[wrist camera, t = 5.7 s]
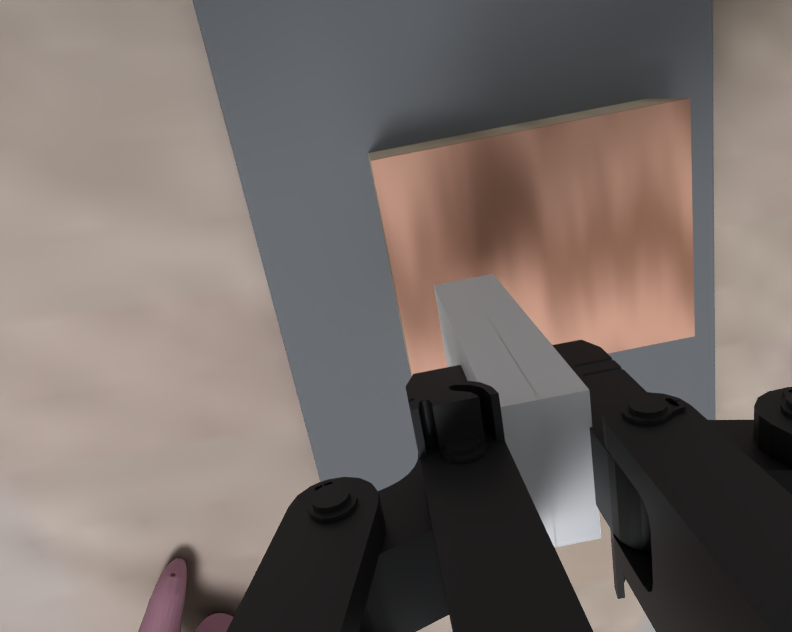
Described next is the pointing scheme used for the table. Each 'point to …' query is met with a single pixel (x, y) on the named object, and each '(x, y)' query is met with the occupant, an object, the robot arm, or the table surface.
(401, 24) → the rubber mat
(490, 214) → the oak tile
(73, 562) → the table surface
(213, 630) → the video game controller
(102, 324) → the table surface
